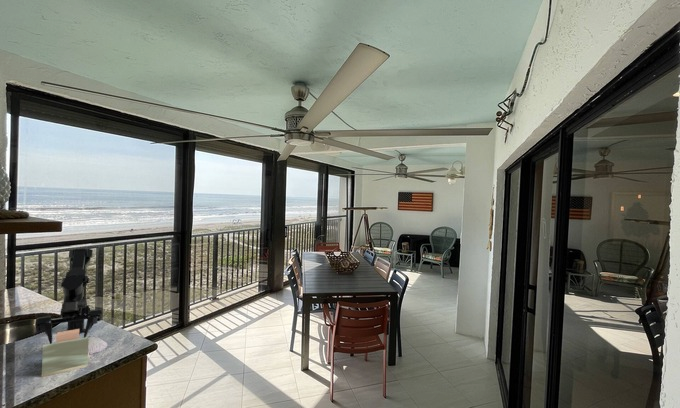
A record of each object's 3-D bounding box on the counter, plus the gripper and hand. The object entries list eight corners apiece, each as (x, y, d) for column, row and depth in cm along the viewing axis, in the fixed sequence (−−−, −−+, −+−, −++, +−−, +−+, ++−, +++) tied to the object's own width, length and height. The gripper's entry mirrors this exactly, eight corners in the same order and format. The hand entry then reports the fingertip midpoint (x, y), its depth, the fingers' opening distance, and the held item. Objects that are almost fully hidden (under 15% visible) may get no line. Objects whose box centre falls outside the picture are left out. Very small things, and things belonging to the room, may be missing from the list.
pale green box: (46, 364, 109) (48, 334, 109) (88, 355, 116) (90, 327, 116) (41, 377, 101) (43, 345, 101) (87, 366, 108) (88, 337, 108)
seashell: (108, 333, 128) (107, 338, 120) (107, 347, 127) (106, 352, 119) (77, 338, 122) (74, 343, 114) (76, 352, 121) (72, 358, 113)
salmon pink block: (55, 364, 107) (57, 332, 107) (77, 360, 111) (79, 328, 111) (54, 368, 105) (56, 335, 104) (77, 363, 108) (78, 331, 108)
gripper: (37, 296, 106) (29, 338, 98) (103, 289, 118) (100, 326, 109) (40, 310, 113) (32, 351, 104) (102, 302, 124) (100, 338, 116)
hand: (68, 341), depth 108 cm, fingers open, 9 cm apart
